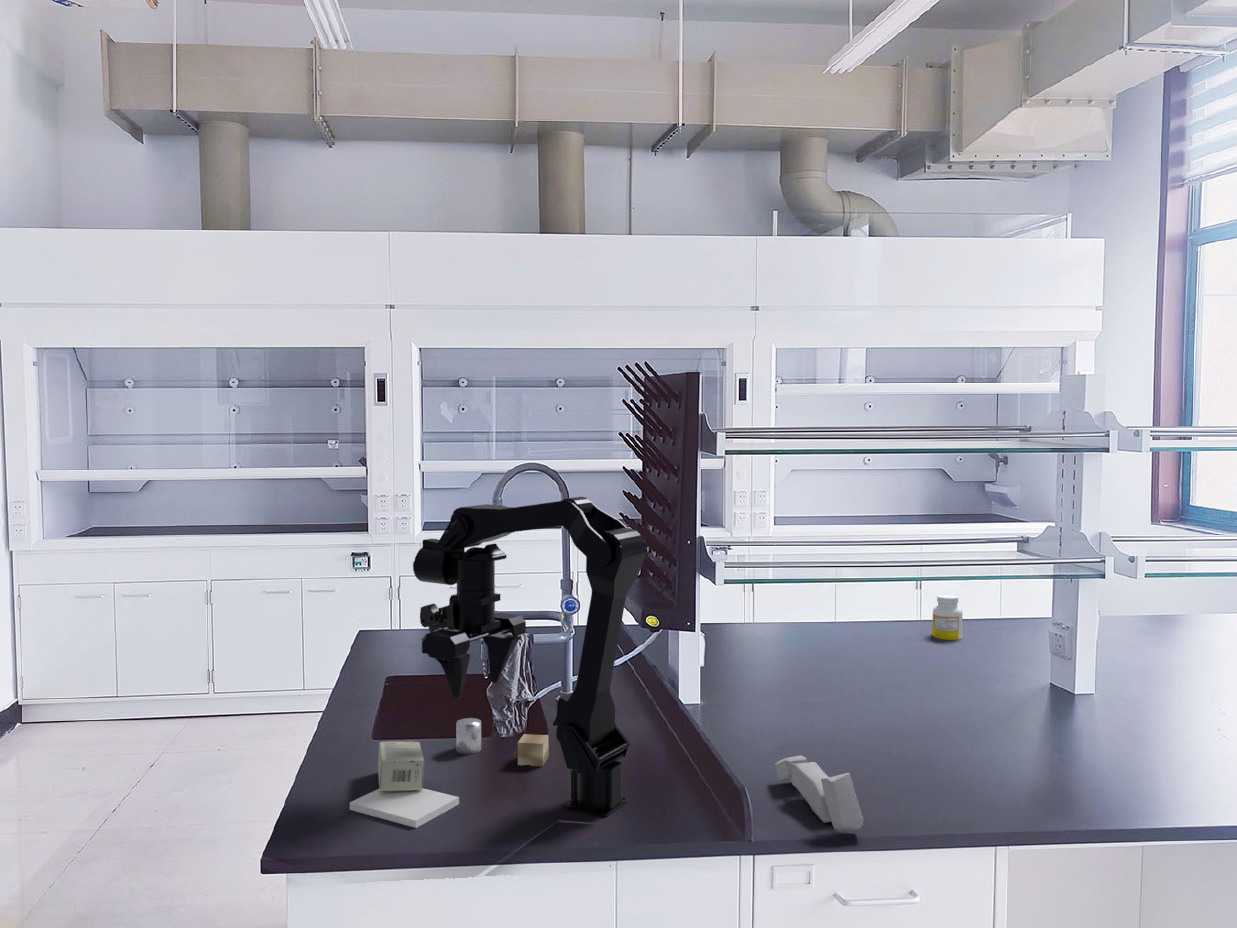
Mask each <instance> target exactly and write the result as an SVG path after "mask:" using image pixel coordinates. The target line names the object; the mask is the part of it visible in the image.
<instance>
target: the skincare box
mask: <svg viewBox="0 0 1237 928" xmlns="http://www.w3.org/2000/svg"><path fill="white" fill-rule="evenodd" d="M377 754H378V755H377V756H378V757H377V776H378V777H377V778H378V789H379V790H380V791H407V790H422V788H424V786H423V785H424V778H425V777H424V775H425V774H424V773H425V758H424V756H423V755H424V754H423V751H422V747H421V743H420V742H419V741H380V742H379V743H378V753H377Z"/></svg>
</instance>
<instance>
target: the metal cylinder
mask: <svg viewBox="0 0 1237 928" xmlns="http://www.w3.org/2000/svg"><path fill="white" fill-rule="evenodd" d="M455 726H456V727H455V729H456V734H455V735H456V740H455V741H456V742H455V744H456V745H455V746H456V749H455V750H456V752H457V753H459V754H463V755H470V754H472V755H473V754H476V753H479V752H480V751H481V750H482V720H481V719H479V718H475V717H468V718H467V717H466V718H461V719H458V720H457V721H456V725H455Z"/></svg>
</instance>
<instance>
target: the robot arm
mask: <svg viewBox="0 0 1237 928" xmlns="http://www.w3.org/2000/svg"><path fill="white" fill-rule="evenodd" d="M558 527H563V528H564V529H565V530H566V531H567V532H568V535H569V536H570V538H571V541H572V543H573V544H574V546H575V547H576V549H578V550H579V551H580V552H581V553H582V554H583V555H584V556H585V557H586V558H585V573H586V576H587V579H588V582H589V585H590V587H591V595H590V602H589V608H588V613H587V619H586V624H585V631H584V637H583V642H582V647H581V652H580V660H579V665H578V671H577V677H576V681H575V687H574V689H573V691H572V692H570V693H567V694H565V695H563V696H561V697H559V698H558V700H557V704H556V717H555V719H554V721H553V722H552V725H553V727H554V726H555V727H556V728H555V737H556V740H557V741H558V742H559V745H560V749H561V751H562V755H563V758H564V761H565V765H566V768H567V769H568V770H570V773H569V774H570V776H569V777H570V779H569V781H570V785H569V786H570V789H569V790H570V791H569V793H570V794H569V795H570V796H569V797H570V800H571V801H569V802H568V803H567V804H566V808H567V809H569V810H572V811H575V812H582V813H585V814H590V815H594V816H598V817H601V818H606V817H609V816H610V815H611V814H612V813H614V812H616V811H617V810H618V809H620V808H621V807H623V806H624V805H625V804H626V803H628V797H624V796H623V763H622V762H621V761H619V760H622V758H625V757H627V756H628V754H629V751H630V747H631V743H630V741H629V740H628V739H627V737H626V735H624V733H623V732H622V730H621V729H620V728H619V727H618V725H617V724H616V706H615V704H614V700H613V698H612V694H611V683H612V677H613V673H614V666H615V662H616V656H617V650H618V646H619V644H618V643H619V638H620V633H621V627H622V622H623V621H622V620H623V616H624V611H625V604H626V598H627V595H628V593H629V591H630V590H631V588H632V586H633V585H634V584H635V581H636V580H637V578H638V577H639V576H640V575H639V574H640V572H641V570H642V568H643V563H644V561H645V558H646V555H647V544H646V541H645V540H644V539H643V537H642V535H641V534H640V533H639V532H638V530H635V529H633V528H632V527H628V526H626V524H625V523H623V522H622V521H621V520H620V519H619V518H616V517H615V516H613V515H612V514H609V513H608V512H606V511H605V510H603V509H602V508H599V507H598V506H597V505H596V504H595V503H594V502H593V501H592V500H590V498H588V497H585V496H576V497H574V496H573V497H568V498H567V497H566V498H564V499H562V500H561V499H560V500H559V501H551V502H544V503H538V504H537V503H535V504H530V505H522V506H514V507H512V506H506V505H499V504H488V503H487V504H479V505H477V504H476V505H470V506H469V505H467V506H459V507H457V508H456V509H454V510H453V511H452V515H451V516H450V521H449V523H448V524H447V526H446V529H444V531H443V533H442V534H441V536H440V538H439V539H438V538H427V539H426V538H425V539H423V540H422V547H421V548H420V549H419V550H418V552H417V553H416V555H415V557H414V561H413V563H412V571H413V574H414V575H415V578H416V579H417V580H418V581H420V582H423V583H432V584H440V585H448V586H453V585H456V593H455V594H451V595H450V597H449V603H448V604H449V605H445V606H442V607H438V606H437V604H436V603H430V604H427V605H424V606H421V607H420V611H419V620H420V625H421V626H422V627H423V628H425V629H426V628H428V630H429V633H425V635H424V636H423V637H422V638H421V653H422V654H426V655H427V656H428V657H429V658H431V659H435V660H436V661H437V662H438V663H439V664H440V666H441V668H442V670H443V673H444V674H445V677H446V681H447V682H448V683H447V684H448V685H449V688H450V691H451V693H452V697H453V698H457V699H460V698H461V697H462V694H463V691H464V690H463V689H464V685H465V682H466V677H467V673H468V668H469V663H470V659H471V654H470V653H468V652H469V649H470V647H471V645H470V643H471V642H474V641H478V640H481V639H482V640H483V642H484V643H485V645H486V647H487V650H488V651H487V654H488V655H487V656H488V669H489V677H490V682H491V683H494V684H498V682H499V680H500V678H501V676H502V674H503V671H504V670H505V668H506V665H507V663H508V661H509V659H510V657H511V656H512V653H513V651H514V649H515V647H516V646H517V644H518V642H519V641H521V639H522V635H525V634H526V633H527V632H526V631H527V627H526V626H527V622H526V620H525V618H524V617H523V616H522V615H520V614H512V613H506V612H505V613H504V612H496V609H495V608H496V606H495V605H496V604H495V603H496V602H500V601H501V593H496V591H495V588H496V587H495V581H496V580H495V578H496V577H495V576H496V575H495V572H496V571H495V567H496V565H495V563H496V561H502V560H506V558H507V556H508V555H507V553H505V552H504V551H503V550H502V549H501V548H500V547H499V546H498V545H497V543H491V544H490V543H489V544H486V545H485V546H484V547H479V546H481V545H482V544H483V543H488V542H492V541H495V540H499V539H501V538H504V537H508V536H509V535H511V534H513V533H517V532H524V531H531V530H540V529H549V528H558ZM466 548H468V549H467V550H466ZM465 550H466V551H465Z"/></svg>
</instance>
